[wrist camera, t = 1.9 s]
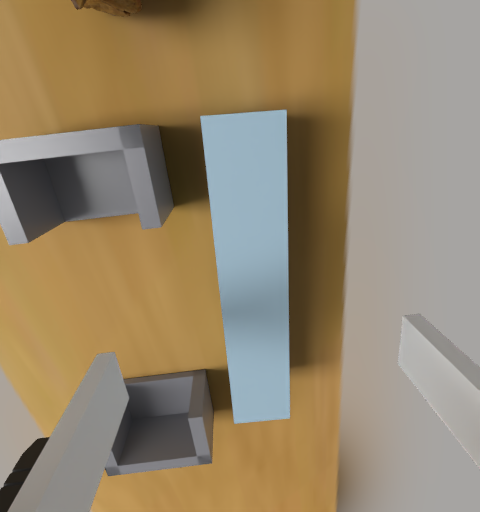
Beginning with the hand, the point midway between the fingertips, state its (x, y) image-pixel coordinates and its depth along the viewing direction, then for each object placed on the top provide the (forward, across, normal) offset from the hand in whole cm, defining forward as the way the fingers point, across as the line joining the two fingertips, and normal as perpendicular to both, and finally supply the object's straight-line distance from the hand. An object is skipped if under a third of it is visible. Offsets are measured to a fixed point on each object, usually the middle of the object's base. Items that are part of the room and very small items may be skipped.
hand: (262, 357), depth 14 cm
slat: (+9, 0, +1) cm, 9 cm away
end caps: (+9, -8, -1) cm, 12 cm away
